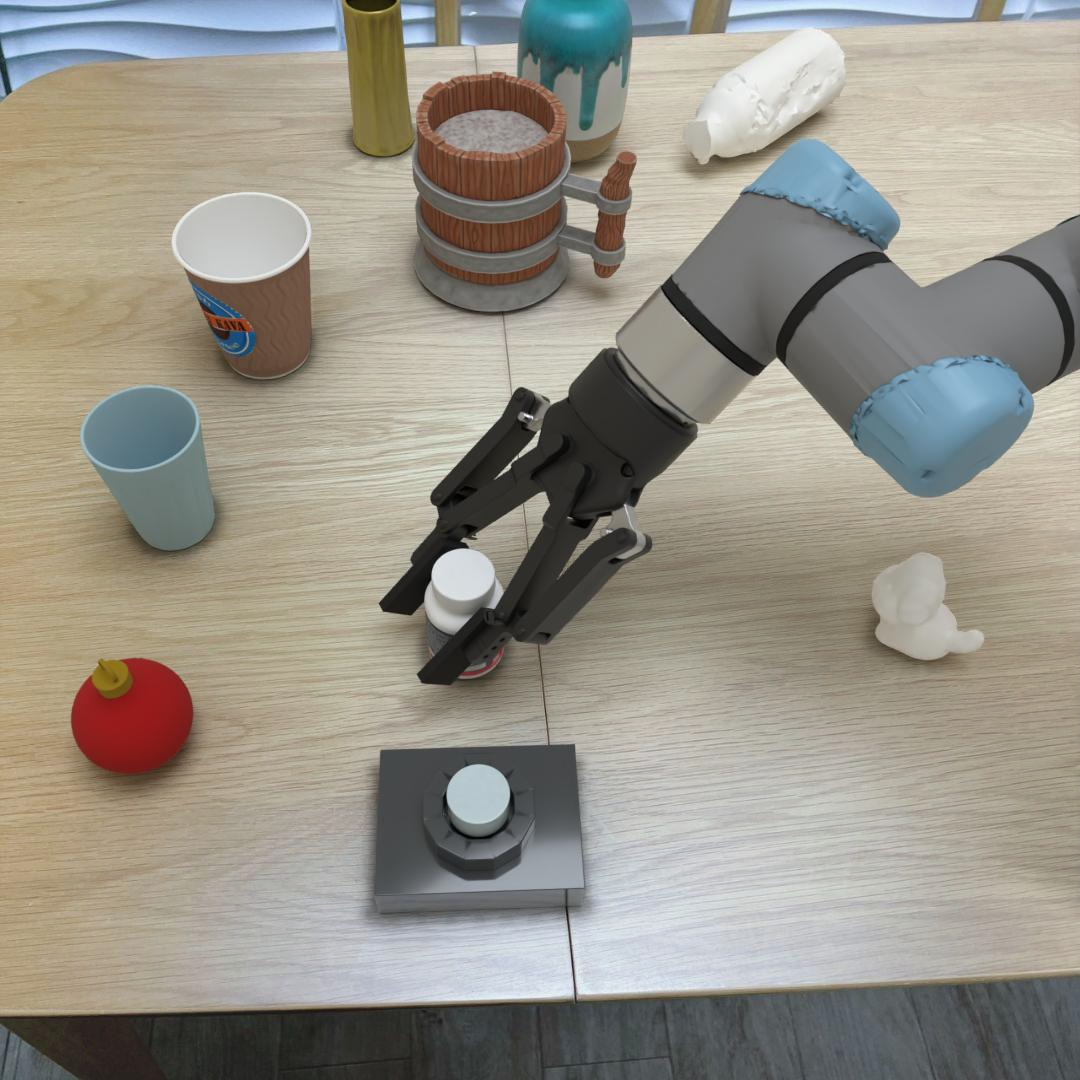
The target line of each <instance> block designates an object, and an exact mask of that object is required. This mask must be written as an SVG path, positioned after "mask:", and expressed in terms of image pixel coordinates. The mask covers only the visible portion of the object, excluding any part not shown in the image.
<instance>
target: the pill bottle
mask: <svg viewBox="0 0 1080 1080" xmlns="http://www.w3.org/2000/svg"><path fill="white" fill-rule="evenodd" d="M504 592H505V591H504V588H503V586H502V584H501V582H500V581H499V579H498V578H497V577H496V570H495V567H494V564H493V562H492V561H491V559H490V558H489V557H488V556H486V555H485V554H484V553H482V552H481V551H478V550H475V549H471V548H470V549H456V550H452V551H449V552H447V553H445V554H444V555H442V556H441V557H440V558H439V559H438V560H437V561H436V563H435V564H434V567H433V569H432V580H431V581H430V583H429V584H428V586H427V589H426V592H425V598H424V603H423V604H424V614H425V622H426V632H427V633H426V635H427V649H428V654H429V657H430V660H431V659H432V658H433V657H434V656H435V655H436V653H437V652H438V651H439V650H440V649H441V648H442V647H443V646H444V645H445V644H446V643H447V642H448V641H449V640H450V639H451V638H452V637H453V636H454V635H455V634H456V633H457V632H458V630H459V629H460V628H461V627H462V626H463V625H464V624H465V623H466V622H467V621H468V620H469V619H470V618H471V617H472V616H473V615H474V614H475V613H476V612H477V611H478V610H479V609H480V608H481V607H485V608H491V609H495V607H496V605H497V604H498V602H499V600H500V599H501V597H502V595H503V594H504ZM504 652H505V646H504V647H503V648H502V649H501V650H499V652H498V653H497V654H495V656H494V657H493V658H492V659H491V660H490V661H488V662H485V663H475V662H473V663H472V664H471V665H470V666H469V667H468V668H467V669H466V670H465V671H464V672H463V673H462V674H461V675H460V676H459V677H458V678H457V679H461V680H469V679H476V678H480V677H482V676H485V675H487V674H488V673H489V672H491V671H493V669H495V668H496V666H498V664H499V663H500V661H501V660H502V657H503V654H504Z"/></svg>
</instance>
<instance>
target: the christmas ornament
mask: <svg viewBox="0 0 1080 1080" xmlns="http://www.w3.org/2000/svg"><path fill="white" fill-rule="evenodd" d="M97 664H98V665H97V666H96V667H95V669H94V670H93V672H92V674H91V675H90V676H88V677H87V678H86V680H85V681H84V682H83V683H82V685H81V686H80V688H79V690H78V691H77V692H76V695H75V697H74V700H73V703H72V706H71V713H70V726H71V727H70V728H71V733H72V735H73V739H74V741H75V742H76V743H75V744H76V746H77V747H78V749H79V750H80V752H81V753H82V754H83V756H85V757H86V758H87V759H88V760H89V761H90V762H91V763H93V764H94V765H95V766H97V767H99V768H101V769H103V770H105V771H108V772H111V773H115V774H119V775H136V774H143V773H147V772H150V771H153V770H155V769H157V768H160V767H161V766H163V765H165V764H166V763H168V762H169V761H170V760H172V759H173V758H174V757H175V756H176V755H177V754H178V753H179V752H180V750H181V749H182V748H183V746H184V745H185V744H186V742H187V740H188V738H189V736H190V733H191V731H192V726H193V722H194V704H193V699H192V696H191V693H190V691H189V689H188V687H187V685H186V683H185V682H184V681H183V679H182V677H180V675H179V674H178V673H177V672H175V671H174V670H173V669H172V668H170V667H168V666H167V665H165V664H164V663H161V662H158V661H156V660H153V659H149V658H142V657H130V658H122V659H109V660H105V658H100V659H98V660H97Z"/></svg>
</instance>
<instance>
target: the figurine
mask: <svg viewBox="0 0 1080 1080" xmlns="http://www.w3.org/2000/svg"><path fill="white" fill-rule="evenodd" d="M946 588H947V580H946V578H945V574H944V564H943V561H942V559H941V558H940V557H939V556H936V555H935V554H932V553H930V552H924V551H920V552H917V553H914V554H912V555H910V557H909V558H907V559H905V560H904V561H902V562H901V563H899V564H892V565H890V566H888V567H887V568H885V569H884V570H882V571H881V572H880V573H879V575H877V576H876V578H875V579H873V581H872V588H871V601H872V605H873V607H874V610H875V611H876V613H877V614H878V615H879V623H878V624H877V626H876V628H875V638H876V639H877V640H878V641H879V642H880V643H882V644H883V645H885V646H887V647H889V648H891V649H893V650H896V651H898V652H900V653H902V654H904V655H906V656H908V657H911V658H912V659H917V660H922V661H932V660H933V661H935V660H938V659H942V658H943V657H945V656H946V655H948V654H949V653H955V654H970V653H974V652H976V651H978V650H979V649H980V648H981V647H982V646H983V644H984V642H985V635H984V633H983V632H982V631H981V630H979V629H969V630H966V631H963V630H958V622H957V618H956V617H955V615H954V613H952V611H951V610H950V609H949V607H948V606H947V605H946V604H944V603H943V601H944V599H945V598H946V597H945V596H946Z"/></svg>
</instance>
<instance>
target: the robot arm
mask: <svg viewBox="0 0 1080 1080" xmlns="http://www.w3.org/2000/svg"><path fill="white" fill-rule="evenodd" d="M738 195H739V196H738V198H737V199H736V200H735V201H734V203H732V205H731V206H730V208H728V210H727V211H726V212H725V213H724V215H723V216H722V217H721V218H720V219H719V220H718V222H717V223H716V224H715V225H714V226H713V227H712V228H711V230H710V231H709V232H708V233H707V234H706V236H705V237H704V238H703V239H702V240H701V241H700V242H699V243H698V244H697V246H696V247H695V248H694V250H692V252H690V254H689V255H688V256H687V257H686V259H684V261H683V262H682V263H681V264H680V265H679V266H678V268H677V269H676V270H675V271H674V272H673V273H671V274H670V275H669V277H668V278H667V279H666V280H665V281H664V282H663V283H662V284H660V285H659V286H658V287H657V288H656V289H655V290H654V292H652V293H651V295H650V296H649V297H648V298H647V299H646V300H645V301H644V302H643V303H642V304H641V306H639V307H638V309H637V310H636V311H635V312H634V313H633V314H632V315H631V316H630V318H628V320H627V321H626V322H624V324H622V326H621V327H620V329H618V330H617V332H616V333H615V345H616V347H613V346H612V347H611V346H610V347H607V348H606V347H605V348H602V349H601V350H600V351H599V352H598V354H597V355H596V356H595V357H594V358H593V359H592V360H591V361H590V362H589V364H588V365H586V367H585V368H584V369H583V370H582V371H581V372H580V374H579V375H578V376H577V377H576V378H575V379H574V380H573V381H572V382H571V384H570V385H569V388H568V391H567V396H566V397H564V398H563V399H561V400H558V401H555V402H554V403H552V402H551V400H550V399H549V397H547V396H544V395H542V394H540V393H538V392H536V391H533V390H531V389H528V388H527V387H524V386H519V387H517V388H516V389H515V390H514V391H513V394H512V395H511V397H510V399H509V400H508V402H507V405H506V407H505V409H504V410H503V412H502V415H501V416H500V417H499V418H498V419H497V420H496V421H495V423H493V425H492V426H490V428H489V429H488V430H487V431H486V432H485V434H484V435H483V436H482V437H481V438H480V439H479V440H478V441H477V442H476V443H475V444H474V445H473V446H472V448H471V449H470V450H469V451H467V453H466V454H465V455H464V456H463V457H462V458H461V459H460V460H459V462H458V463H457V464H456V465H455V466H454V467H453V468H451V471H449V472H448V473H447V474H446V476H445V477H444V478H443V479H442V480H441V481H440V482H439V483H438V484H437V486H435V488H434V489H432V491H431V493H430V496H429V497H430V498H429V500H430V503H431V505H433V506H435V507H436V510H437V516H438V518H437V519H436V522H435V527H434V529H433V530H432V531H431V532H429V534H428V535H427V536H426V537H425V539H423V540H422V542H421V543H420V544H419V545H418V546H417V548H415V549H414V551H413V552H412V554H411V556H410V559H409V561H410V563H411V564H412V565H411V567H410V568H408V570H407V571H406V572H405V573H404V574H403V576H402V577H400V578H399V580H397V582H396V583H395V584H394V585H393V586H392V588H391V589H390V590H389V591H388V592H387V593H386V594H385V595H384V597H383V598H382V599H381V600H380V601H379V602H378V605H379V607H380V609H381V611H382V613H389V614H394V615H395V614H397V615H403V616H408V617H409V616H410V617H412V616H413V615H414V614H415V613H416V612H417V611H418V610H419V608H420V607H422V605H423V604H424V598H425V592H426V589H427V586H428V584H429V583H430V581H431V580H432V569H433V567H434V564H435V563H436V561H437V560H438V559H439V558H440V557H441V556H442V555H444V554H445V553H447V552H449V551H452V550H456V549H471V548H470V547H469V544H468V543H467V542H464V541H463V539H467V540H470V541H477V540H478V538H477V534H478V533H480V532H481V531H483V530H484V529H486V528H487V527H489V526H490V525H492V524H493V523H495V522H496V521H498V520H500V519H501V518H503V517H504V516H506V515H507V514H508V513H509V514H510V512H513V511H514V510H515V509H517V508H519V507H520V506H521V505H523V504H524V503H526V502H528V501H529V500H531V499H533V498H534V497H535V496H537V495H538V494H541V493H545V495H546V497H547V501H548V502H549V505H548V507H547V509H546V510H545V512H544V513H543V515H542V527H541V529H540V531H539V532H538V534H537V536H536V537H535V539H534V541H533V543H532V544H531V545H530V548H529V549H528V551H527V553H526V554H525V556H524V558H523V560H522V561H521V563H520V564H519V566H518V568H517V569H516V572H515V573H514V575H513V577H512V578H511V580H510V582H509V583H508V585H507V587H506V588H505V590H504V591H503V592H504V594H503V595H502V597H501V599H500V600H499V602H498V604H497V605H496V607H495V609H491V608H485V607H481V608H480V609H479V610H478V611H477V612H476V613H475V614H474V615H473V616H472V617H471V618H470V619H469V620H468V621H467V622H466V623H465V624H464V625H463V626H462V627H461V628H460V629H459V630H458V632H457V633H456V634H455V635H454V636H453V637H452V638H451V639H450V640H449V641H448V642H447V643H446V644H445V645H444V646H443V647H442V648H441V649H440V650H439V651H438V652H437V653H436V655H435V656H434V657H433V658H432V659H431V658H430V659H429V660H428V661H427V663H426V664H425V665H424V666H423V667H422V668H421V669H420V670H419V671H418V672H417V673H416V676H417V678H418V680H419V681H420V683H421V684H422V685H423V684H424V685H437V686H451V685H452V684H453V683H454V682H455V681H457V679H459V678H458V677H459V676H460V675H461V674H462V673H463V672H464V671H465V670H466V669H467V668H468V667H469V666H470V665H471V664H472V663H473V662H475V663H485V662H488V661H490V660H491V659H492V658H493V657H494V656H495V654H497V653H498V652H499V650H501V649H502V648H503V647H504V648H505V646H506V645H507V644H508V643H509V642H510V641H511V640H512V639H514V640H515V641H516V642H518V643H525V644H531V645H532V644H533V645H540V646H547V645H548V644H549V643H551V642H552V640H553V639H555V638H556V636H557V635H558V634H559V633H560V632H561V631H562V630H563V629H564V628H565V627H566V626H567V625H568V624H569V623H570V622H571V620H573V619H574V617H576V615H578V613H580V611H581V610H582V609H583V608H584V607H585V606H586V605H587V604H588V603H589V602H590V601H591V600H592V599H593V598H594V597H595V596H596V595H597V593H599V591H600V590H601V589H602V588H604V587H605V585H606V584H608V582H609V581H610V580H611V579H612V578H613V577H614V576H615V575H616V574H617V573H618V571H619V570H621V569H622V567H623V566H625V565H627V564H629V563H631V562H633V561H635V560H637V559H639V558H641V557H642V556H645V555H647V554H648V553H650V552H651V550H652V549H653V544H654V543H653V538H652V537H651V536H650V535H649V534H647V533H644V532H642V531H641V527H640V524H639V521H638V517H637V515H636V511H635V508H636V506H637V505H638V504H639V501H640V499H641V495H642V493H643V491H644V489H645V488H646V486H647V485H648V484H649V483H650V482H651V481H653V480H655V479H656V478H658V477H659V476H660V475H663V473H664V472H666V470H668V468H669V467H670V466H671V465H672V464H673V463H675V461H677V459H678V458H679V457H680V456H681V455H682V454H683V453H684V452H685V451H686V450H687V449H688V448H689V447H690V446H691V445H692V444H693V443H694V442H695V441H696V440H697V438H698V432H699V426H698V424H700V425H710V424H711V423H712V422H713V421H715V420H716V419H717V417H718V416H719V415H721V413H722V412H723V411H724V410H726V408H728V406H729V405H730V404H731V403H732V402H733V401H734V400H735V399H736V398H737V397H738V396H739V395H740V394H741V393H742V392H743V391H744V390H745V389H747V387H748V386H749V385H750V384H751V383H752V382H753V381H754V380H755V379H756V378H757V377H758V376H759V375H760V374H762V372H764V370H765V369H766V368H767V367H768V366H769V365H771V364H772V362H774V361H775V360H776V359H778V360H779V361H780V363H781V364H782V365H783V366H784V367H785V368H786V370H788V372H789V373H790V374H791V375H792V376H793V377H794V378H795V379H796V380H797V382H798V383H799V384H800V385H801V386H802V387H803V389H805V390H806V391H807V393H809V395H810V396H811V397H812V398H813V399H814V400H815V401H816V402H817V403H818V404H819V406H821V408H822V409H823V410H824V412H826V413H827V415H828V416H829V417H830V418H831V419H832V420H833V421H834V422H835V423H836V424H837V425H838V427H839V428H841V430H843V432H844V433H845V434H846V435H847V436H848V438H849V439H851V442H852V443H853V446H854V447H856V448H857V449H858V451H860V452H861V453H862V455H863V456H865V457H867V458H869V459H871V460H872V461H874V463H876V464H877V465H878V466H879V467H880V468H881V469H882V470H884V472H885V473H887V475H888V476H889V477H891V478H892V479H893V481H895V482H896V483H897V484H898V485H899V486H900V487H901V488H902V489H903V490H904V491H906V492H907V493H908V494H911V496H914V497H915V496H916V497H919V498H924V499H925V498H927V499H928V498H937V497H941V496H944V495H947V494H950V493H953V492H955V491H957V490H959V489H960V488H962V487H964V486H965V485H967V484H969V483H970V482H971V481H973V480H974V479H975V478H976V477H977V476H978V475H979V474H980V473H982V472H983V471H985V470H987V469H989V468H990V467H992V466H993V465H994V464H995V463H996V462H997V461H999V459H1001V458H1002V457H1003V456H1004V455H1005V454H1006V453H1007V452H1008V451H1009V450H1010V449H1011V448H1012V447H1013V446H1014V444H1016V442H1018V440H1019V439H1020V438H1021V436H1022V434H1023V433H1024V432H1025V430H1026V429H1027V428H1028V426H1029V424H1030V422H1031V421H1032V418H1033V415H1034V411H1035V400H1034V397H1033V396H1034V394H1036V393H1038V392H1039V391H1041V390H1043V389H1044V388H1046V387H1048V386H1050V385H1052V384H1053V383H1055V382H1057V381H1058V380H1061V379H1063V378H1065V377H1066V376H1069V375H1071V374H1072V373H1075V372H1076V371H1079V370H1080V213H1078V214H1076V215H1074V216H1072V217H1071V216H1070V217H1069V218H1066V219H1065V220H1063V221H1061V222H1059V223H1058V224H1056V225H1055V226H1054V227H1052V228H1050V229H1048V230H1045V231H1044V232H1041V233H1039V234H1037V235H1035V236H1033V237H1031V238H1029V239H1026V240H1025V241H1023V242H1021V243H1019V244H1017V245H1014V246H1012V247H1010V248H1008V249H1006V250H1004V251H1001V252H1000V253H997V254H995V255H993V256H991V257H987V258H984V259H982V260H981V261H978V262H976V263H974V264H973V265H971V266H968V267H966V268H964V269H961V270H959V271H957V272H955V273H953V274H950V275H948V276H946V277H943V278H941V279H939V280H937V281H934V282H932V283H929V284H928V285H926V286H921V285H919V284H918V283H917V282H916V281H914V280H913V278H911V277H910V276H909V275H908V274H907V273H906V272H905V271H904V270H903V269H901V268H900V266H899V265H897V264H896V263H895V262H894V261H892V259H890V257H889V256H888V255H887V254H886V253H885V252H884V251H886V250H888V249H889V245H890V243H891V242H892V241H893V240H894V239H895V237H896V236H897V235H898V233H899V231H900V228H901V218H900V215H899V214H898V212H897V211H896V210H895V208H894V207H893V206H892V205H891V203H890V202H889V201H888V200H887V199H886V198H885V197H884V196H883V195H882V194H881V193H880V192H879V191H877V189H876V188H875V187H874V186H873V185H872V184H871V183H869V182H868V181H867V180H866V179H865V178H864V177H863V176H861V174H859V173H858V172H857V171H856V170H855V168H854V167H852V165H851V164H850V163H849V162H847V160H845V159H844V158H843V157H842V156H841V155H839V154H838V153H837V152H836V151H835V150H834V149H832V147H830V146H829V145H827V144H826V143H824V142H823V141H821V140H819V139H816V138H808V137H807V138H802V139H799V140H797V141H795V142H793V143H792V144H790V145H789V146H788V147H787V148H786V150H785V151H783V153H781V154H780V155H779V156H778V157H777V158H776V159H775V161H773V163H772V164H770V165H769V166H768V167H767V169H765V170H764V171H763V172H762V173H761V174H760V175H759V176H758V177H757V178H755V180H754V181H753V182H752V183H751V184H750V185H747V186H745V187H744V188H743V189H742V190H741V191H740V193H739V194H738ZM538 432H539V436H538V439H537V442H536V443H537V444H536V446H534V447H533V448H532V449H530V450H528V451H527V452H526V453H524V454H523V455H521V456H520V457H518V458H517V456H518V455H519V454H520V453H521V452H522V451H523V450H524V449H525V448H526V447H527V446H528V445H529V444H530V442H531V441H533V439H534V438H535V436H537V433H538ZM515 458H516V459H515ZM509 465H510V468H509V469H508V470H506V471H505V472H503V471H504V470H505V469H506V468H507V467H508V466H509ZM502 472H503V473H502ZM501 473H502V474H501ZM500 474H501V475H500ZM606 517H611V519H610V522H609V523H608V524H607V525H606V526H605V527H602V528H601V529H600V531H599V536H600V537H599V538H598V539H596V540H594V541H593V542H592V543H591V544H590V545H588V546H587V547H586V548H585V549H584V550H583V551H582V553H580V554H579V556H578V557H577V558H576V559H575V560H574V561H573V562H572V563H571V564H570V565H569V566H568V567H567V569H566V570H564V569H565V567H566V566H567V564H568V562H569V561H570V560H571V557H572V555H573V554H574V552H575V550H576V549H577V547H578V545H579V544H580V543H581V542H582V541H584V540H586V539H587V538H588V537H589V536H590V535H591V533H592V531H593V530H594V528H595V526H596V525H597V523H598V521H599V520H600V518H606ZM562 572H563V573H562Z"/></svg>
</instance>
